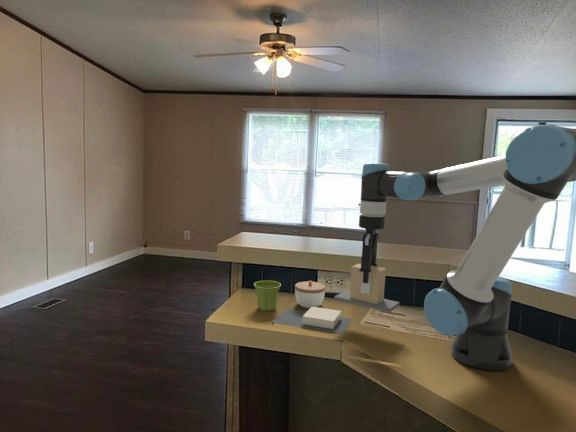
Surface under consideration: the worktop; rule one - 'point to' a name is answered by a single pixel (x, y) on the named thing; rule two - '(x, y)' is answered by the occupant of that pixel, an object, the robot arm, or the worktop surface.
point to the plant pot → (267, 294)
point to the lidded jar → (309, 294)
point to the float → (376, 290)
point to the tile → (321, 317)
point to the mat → (296, 318)
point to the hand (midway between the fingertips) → (367, 289)
